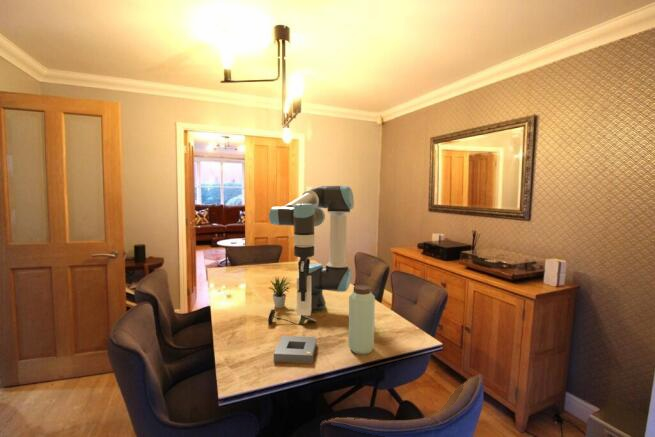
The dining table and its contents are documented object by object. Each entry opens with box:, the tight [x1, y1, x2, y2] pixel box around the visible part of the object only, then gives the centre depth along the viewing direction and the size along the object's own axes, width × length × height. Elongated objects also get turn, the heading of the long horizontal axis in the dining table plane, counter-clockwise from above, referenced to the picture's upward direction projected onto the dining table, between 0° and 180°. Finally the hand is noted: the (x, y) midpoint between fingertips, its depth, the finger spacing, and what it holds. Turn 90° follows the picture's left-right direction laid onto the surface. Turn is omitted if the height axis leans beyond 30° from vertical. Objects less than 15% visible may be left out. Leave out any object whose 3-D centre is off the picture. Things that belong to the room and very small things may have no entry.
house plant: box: [267, 276, 293, 309], centre depth 166 cm, size 14×14×16 cm
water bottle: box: [348, 284, 376, 355], centre depth 122 cm, size 10×10×25 cm
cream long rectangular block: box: [296, 274, 312, 316], centre depth 118 cm, size 4×5×16 cm
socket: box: [273, 335, 317, 364], centre depth 120 cm, size 14×14×3 cm
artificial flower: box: [267, 308, 318, 326], centre depth 147 cm, size 9×22×10 cm, turn 84°
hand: (304, 306), depth 118 cm, fingers closed on cream long rectangular block, 4 cm apart
